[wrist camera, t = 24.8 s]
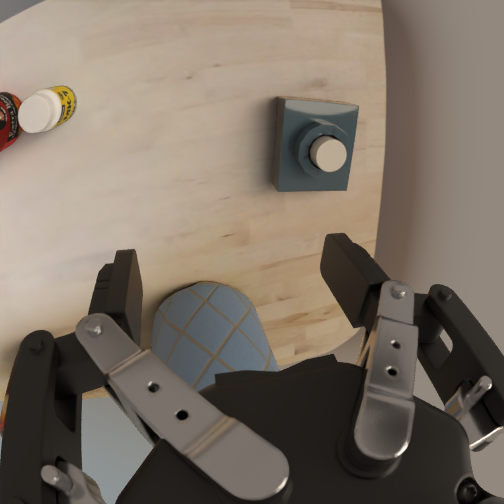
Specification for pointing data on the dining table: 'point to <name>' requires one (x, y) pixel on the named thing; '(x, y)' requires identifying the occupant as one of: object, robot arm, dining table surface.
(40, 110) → the supplement bottle
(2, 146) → the canned food
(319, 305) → the dining table surface
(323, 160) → the white button cap
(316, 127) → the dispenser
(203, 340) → the planter
